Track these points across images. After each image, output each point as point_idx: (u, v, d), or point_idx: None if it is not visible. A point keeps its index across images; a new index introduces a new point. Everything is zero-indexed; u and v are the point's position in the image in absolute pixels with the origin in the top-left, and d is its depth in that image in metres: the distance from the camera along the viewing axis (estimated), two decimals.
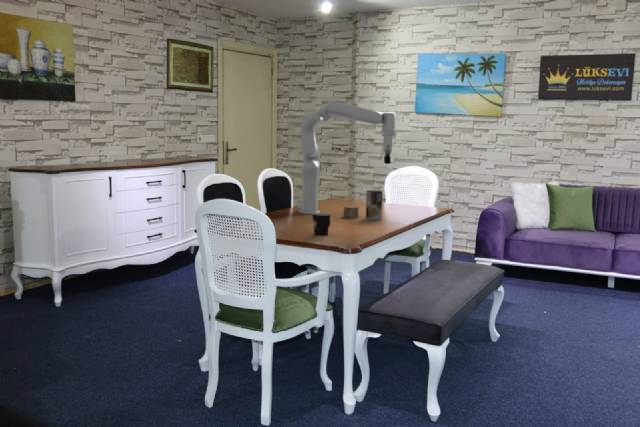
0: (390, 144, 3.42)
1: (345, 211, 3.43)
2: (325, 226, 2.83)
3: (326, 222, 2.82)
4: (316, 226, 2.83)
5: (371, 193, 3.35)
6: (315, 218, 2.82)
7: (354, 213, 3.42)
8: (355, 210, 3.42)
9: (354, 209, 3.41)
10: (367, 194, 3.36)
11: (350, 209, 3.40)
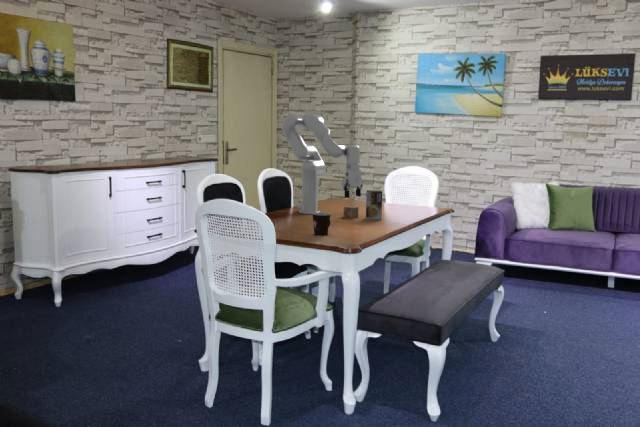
0: None
1: (345, 211, 3.43)
2: (325, 226, 2.83)
3: (326, 222, 2.82)
4: (316, 226, 2.83)
5: (371, 193, 3.35)
6: (315, 218, 2.82)
7: (354, 213, 3.42)
8: (355, 210, 3.42)
9: (354, 209, 3.41)
10: (367, 194, 3.36)
11: (350, 209, 3.40)
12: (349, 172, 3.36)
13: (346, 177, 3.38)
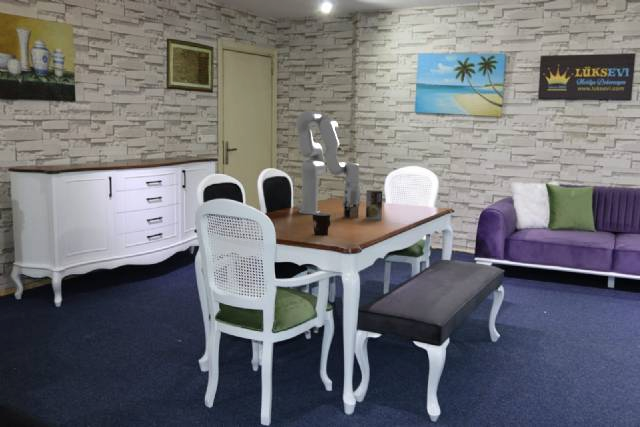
0: None
1: None
2: (325, 226, 2.83)
3: (326, 222, 2.82)
4: (316, 226, 2.83)
5: (371, 193, 3.35)
6: (315, 218, 2.82)
7: (354, 213, 3.42)
8: (355, 210, 3.42)
9: (354, 209, 3.41)
10: (367, 194, 3.36)
11: (350, 209, 3.40)
12: (348, 190, 3.38)
13: (345, 195, 3.39)
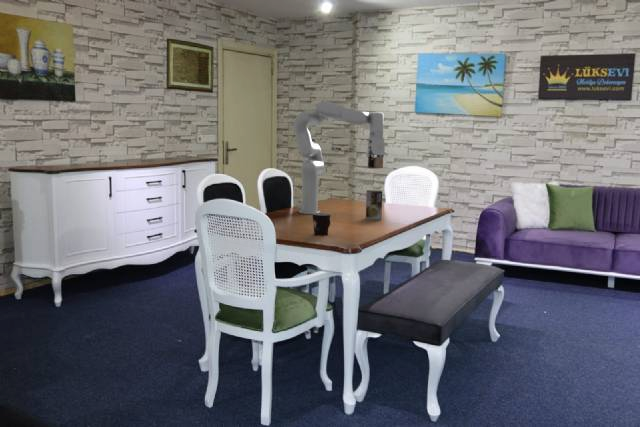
0: None
1: None
2: (325, 226, 2.83)
3: (326, 222, 2.82)
4: (316, 226, 2.83)
5: (371, 193, 3.35)
6: (315, 218, 2.82)
7: (379, 163, 3.34)
8: (380, 160, 3.34)
9: (379, 159, 3.33)
10: (367, 194, 3.36)
11: (375, 159, 3.32)
12: (372, 139, 3.30)
13: (369, 144, 3.31)
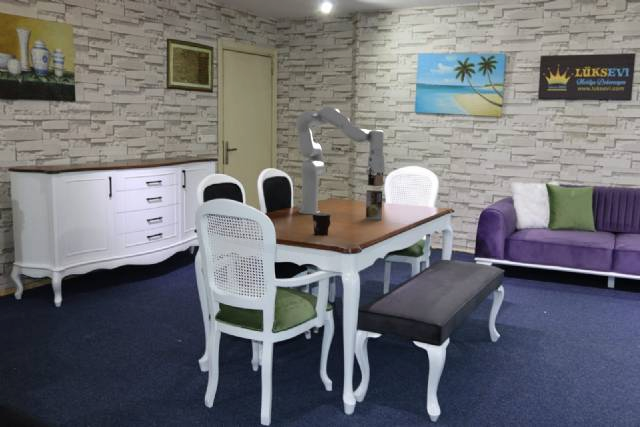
0: None
1: None
2: (325, 226, 2.83)
3: (326, 222, 2.82)
4: (316, 226, 2.83)
5: (371, 193, 3.35)
6: (315, 218, 2.82)
7: (379, 181, 3.35)
8: (380, 178, 3.35)
9: (379, 177, 3.34)
10: (367, 194, 3.36)
11: (375, 177, 3.33)
12: (372, 157, 3.31)
13: (369, 162, 3.32)
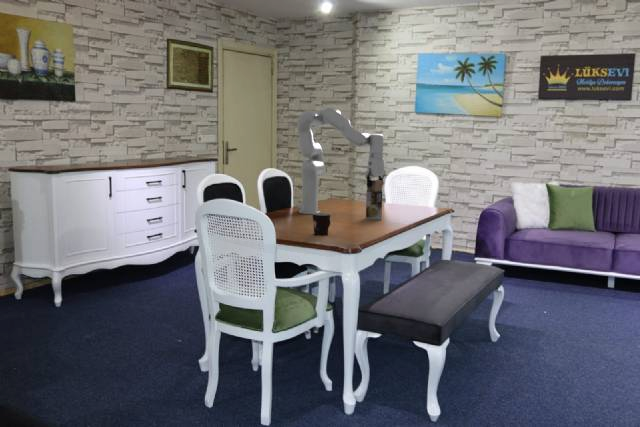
0: None
1: None
2: (325, 226, 2.83)
3: (326, 222, 2.82)
4: (316, 226, 2.83)
5: (371, 193, 3.35)
6: (315, 218, 2.82)
7: (378, 186, 3.35)
8: (379, 183, 3.36)
9: (378, 182, 3.35)
10: (367, 194, 3.36)
11: (374, 182, 3.34)
12: (372, 161, 3.31)
13: (369, 166, 3.33)
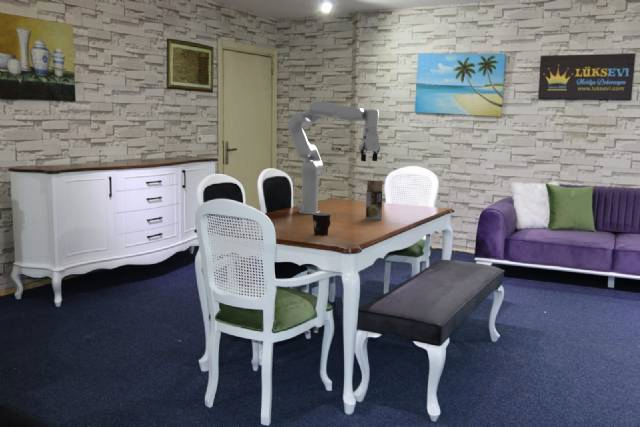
0: None
1: (369, 184, 3.36)
2: (325, 226, 2.83)
3: (326, 222, 2.82)
4: (316, 226, 2.83)
5: (371, 193, 3.35)
6: (315, 218, 2.82)
7: (378, 186, 3.35)
8: (379, 183, 3.36)
9: (378, 182, 3.35)
10: (367, 194, 3.36)
11: (374, 182, 3.34)
12: (367, 136, 3.34)
13: (363, 141, 3.36)
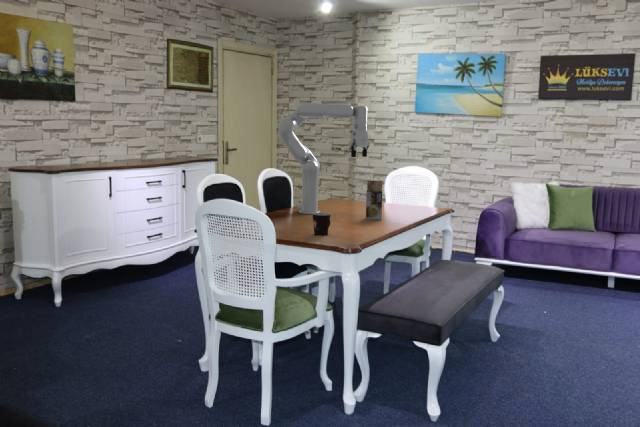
0: None
1: (369, 184, 3.36)
2: (325, 226, 2.83)
3: (326, 222, 2.82)
4: (316, 226, 2.83)
5: (371, 193, 3.35)
6: (315, 218, 2.82)
7: (378, 186, 3.35)
8: (379, 183, 3.36)
9: (378, 182, 3.35)
10: (367, 194, 3.36)
11: (374, 182, 3.34)
12: (356, 132, 3.43)
13: (353, 137, 3.44)
